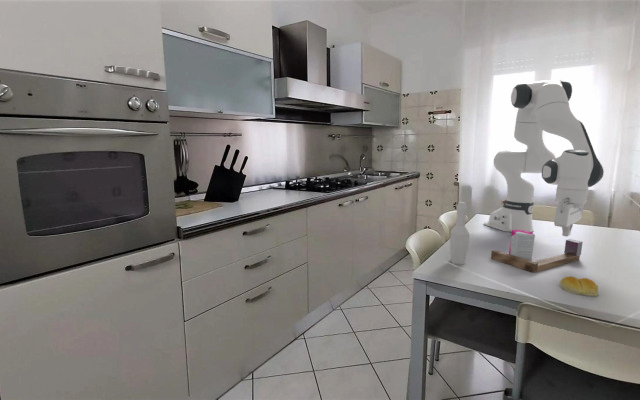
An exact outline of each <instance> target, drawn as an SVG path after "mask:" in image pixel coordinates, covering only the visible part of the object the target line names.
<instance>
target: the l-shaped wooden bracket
mask: <svg viewBox="0 0 640 400" xmlns="http://www.w3.org/2000/svg"><path fill="white" fill-rule="evenodd" d="M582 249H583V241H582V240H581V241H580V240H576V239H572V238H569V239H565V244H564V253H563V254H559V255H555V256H551V257H547V258H544V259H539V260H535V261H529V260H526V259H523V258H520V257H517V256H513V255H510V254H509V253H506V252H503V251H499V250H497V249H493V250H491V253H490V259H492V260H494V261H496V262H497V261H498V262H500V263H503V264H507V265H509V266H512V267H515V268H517V269H521V270H525V271H527V272H530V273H538V272H541V271H545V270H548V269H551V268H555V267H558V266H562V265H565V264H568V263H569V264H570V263H572V262H576V261H580V257H581V255H582Z"/></svg>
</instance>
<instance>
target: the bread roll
mask: <svg viewBox="0 0 640 400" xmlns="http://www.w3.org/2000/svg"><path fill="white" fill-rule="evenodd" d="M559 287H560V288H561V289H562V290H565V291H566V292H569V293H571V294H574V295H575V294H576V295H580V296H581V295H582V296H585V297H597V296H599V285H597V284H596V282H595V281H593V280H591V279H589V278H586V277H585V278H584V277H583V278H577V277H575V276H564V277H563V278H562V279H561V280H560V281H559Z"/></svg>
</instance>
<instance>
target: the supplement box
mask: <svg viewBox="0 0 640 400" xmlns="http://www.w3.org/2000/svg"><path fill="white" fill-rule="evenodd" d="M535 237H536V234H534V233H533V232H529V231H523V230H512V232H511V236H510V243H509V244H510V245H509V251H508V254H510V255H513V256H517V257H520V258H523V259H526V260H529V261H532V260H533V253H534V244H535Z"/></svg>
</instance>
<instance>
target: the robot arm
mask: <svg viewBox="0 0 640 400" xmlns="http://www.w3.org/2000/svg"><path fill="white" fill-rule="evenodd" d="M572 94H573V86H572V84H571V82H570V81H568V80H564V79H563V80H562V79H558V80H548V79H547V80H540V81H532V82H523V83H519V84H516V85H515V86H514V87H513V88H512V92H511V95H510V102H511V104H512V107H513V108H514V109H516V108H517V109H518V110H517V113H516V118H515V124H514V133H513V137H514V138H515V140H516V141H517V142H519V143H520V144H523V145H525V146H526V147H527V148H526V149H505V150H501V151H498V152H497V153H496V154H495V156H494V157H493V166H494V168H495V169H496V171H498V172H499V173H500V174H501V175H502V176H503V177H504V179H505V181H506V184H507V186H506V187H507V188H506V189H507V190H506V191H507V194H506V199H505V200H503V201H502V200H501V204H503V205H502V206H501V207H499V208H498V209H496V210H494V211H492V212H491V213H490V214H489V218H488V220H486V221H484V222H483V225H484V226H488V227H490V228H493V229H497V230H500V231H503V232H509V233H510V232H511V233H512V230H523V231H529V232H531V233H533V232H534V226H533V211H534V204H535V203H534V194H535V193H534V192H535V186H534V184H533V183H532V182H530V181H528V180H526V179H524V178H523V177H522V174H541V178H542V180H543V181H544V182H546V184H549V185H553V186H554V185H555V186H556V189H555V190H556V193H555V200H554V201H556V202H559V203H558V204H557V205H556V209H555V214H554V219H553V220H554V221H553V223H554V224H553V225H554V226H555V227H560V228H561V229H562V233H561V235H562V236H563V237H565V238H566V237H570V236H571V234H572V229H573V226H574V224H575V223H577V222H578V221H580V220H581V219H582V217H583V213H584V210H585V204H587V203H588V198H589V196H588V195H589V188H591V187H593V186H596V185H597V184H598V183H599V182H600V181H601V180H602V179H603V177H604V172H605V171H604V167H603V166H602V163H601V161H600V160H599V159H598V157H597V155H596V153H595V150H594V147H593V144H592V142H591V140H590V137H589V134H588V132H587V130H586V127H585V125H584V123H583V122H582V121H580V120H578V118H577V117H576V116H575V115H574V114H573V112H572V111H571V108H570V103H569V101H570V100H571V97H572ZM543 132H546V133H548V134H553V135H555V136H558V137H560V138H563V139H565V140H567V141H568V142H570V144H571V145H572V148H573V149H567V150H563V151H562V153H561V155H560V156H558V157H556V155H555V154H554V152H553V151H551V150H550V149H548V147H547V146H546V145H545V143H544V140H543Z"/></svg>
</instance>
